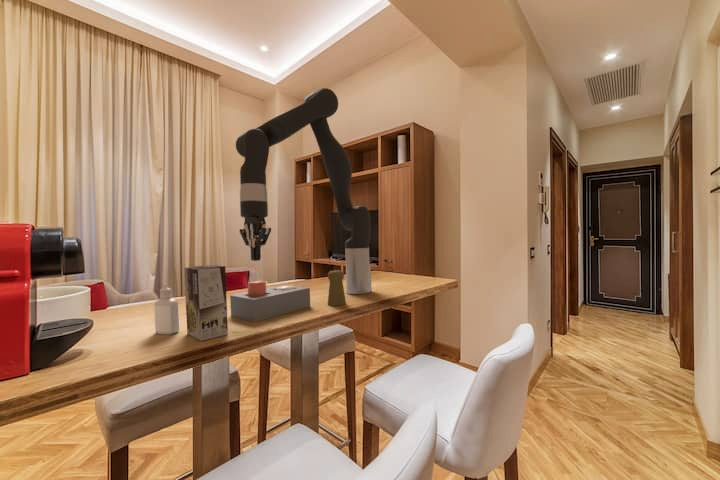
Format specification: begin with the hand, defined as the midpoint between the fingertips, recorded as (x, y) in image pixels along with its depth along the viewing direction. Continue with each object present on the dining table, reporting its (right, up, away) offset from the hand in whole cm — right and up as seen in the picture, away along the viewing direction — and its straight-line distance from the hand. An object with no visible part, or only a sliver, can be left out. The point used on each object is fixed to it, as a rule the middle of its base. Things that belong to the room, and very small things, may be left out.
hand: (255, 260), depth 89 cm
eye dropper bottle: (-17, -17, -14) cm, 28 cm away
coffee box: (-6, -17, -16) cm, 24 cm away
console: (+4, -16, +4) cm, 17 cm away
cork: (+23, -15, +11) cm, 29 cm away
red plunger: (0, -12, 0) cm, 12 cm away
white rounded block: (+7, -15, +8) cm, 18 cm away
